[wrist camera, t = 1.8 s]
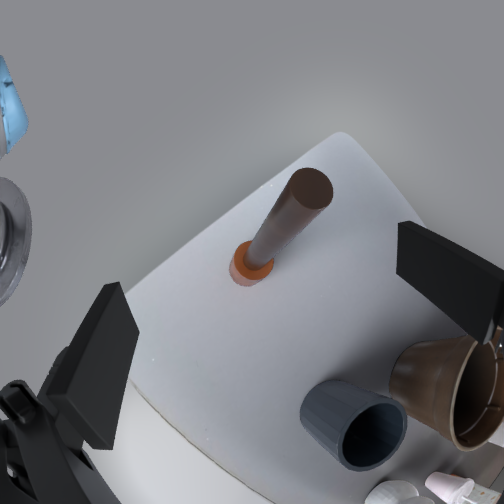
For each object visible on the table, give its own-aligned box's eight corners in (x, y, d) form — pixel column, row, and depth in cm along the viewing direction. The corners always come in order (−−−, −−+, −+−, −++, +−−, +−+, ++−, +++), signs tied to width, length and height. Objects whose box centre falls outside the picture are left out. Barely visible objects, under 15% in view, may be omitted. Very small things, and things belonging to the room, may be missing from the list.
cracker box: (433, 495, 32) (500, 527, 12) (451, 472, 34) (520, 498, 14) (456, 503, 32) (513, 528, 12) (471, 483, 34) (530, 503, 13)
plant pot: (362, 423, 35) (433, 459, 19) (390, 320, 39) (470, 313, 23) (433, 423, 36) (500, 442, 21) (455, 336, 40) (525, 332, 25)
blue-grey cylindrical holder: (293, 436, 33) (327, 474, 22) (307, 377, 35) (348, 398, 24) (349, 436, 34) (395, 466, 22) (362, 381, 36) (415, 396, 25)
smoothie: (415, 495, 32) (460, 521, 19) (425, 470, 34) (474, 493, 20) (437, 486, 33) (481, 507, 19) (446, 461, 34) (494, 480, 21)
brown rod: (226, 282, 37) (262, 216, 14) (232, 249, 38) (276, 142, 15) (259, 289, 37) (348, 238, 14) (265, 256, 38) (351, 165, 15)
